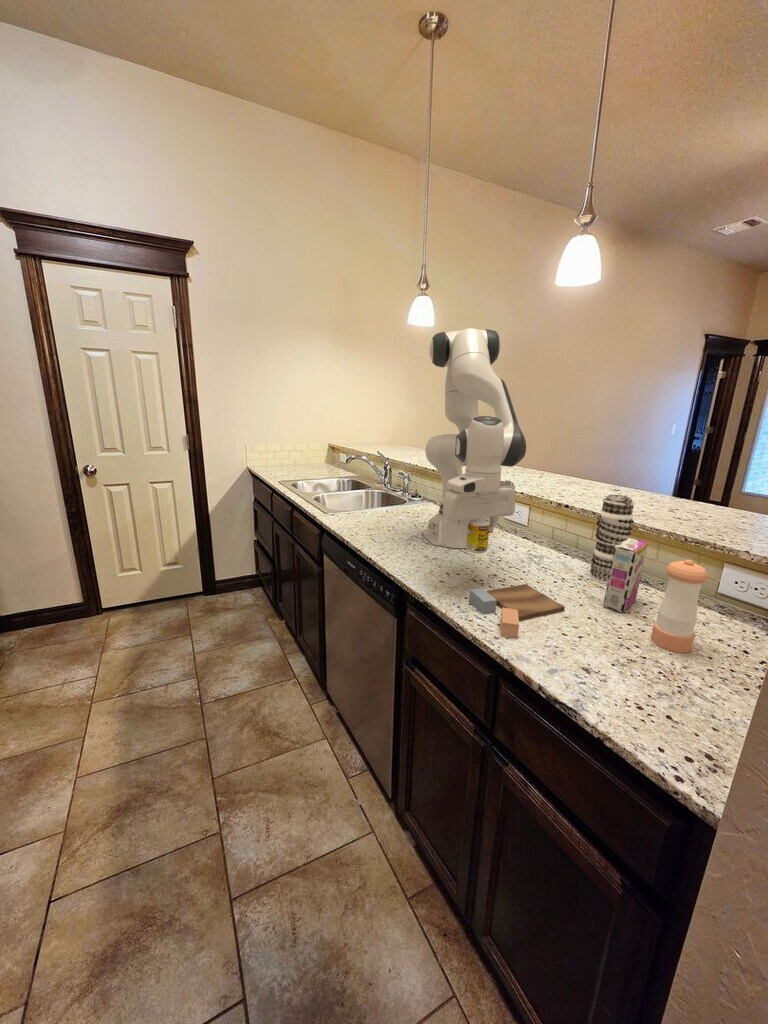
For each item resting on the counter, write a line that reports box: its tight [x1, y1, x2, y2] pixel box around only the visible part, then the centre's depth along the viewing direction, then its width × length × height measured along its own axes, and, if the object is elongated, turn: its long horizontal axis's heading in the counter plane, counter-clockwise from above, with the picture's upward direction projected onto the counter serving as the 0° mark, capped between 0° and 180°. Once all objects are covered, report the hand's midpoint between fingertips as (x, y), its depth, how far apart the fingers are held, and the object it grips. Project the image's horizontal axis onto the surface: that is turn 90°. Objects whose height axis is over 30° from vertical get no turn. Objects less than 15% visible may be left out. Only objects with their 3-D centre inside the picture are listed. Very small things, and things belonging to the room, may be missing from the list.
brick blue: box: [468, 587, 497, 615], centre depth 103 cm, size 7×4×4 cm, turn 16°
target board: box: [486, 583, 566, 622], centre depth 105 cm, size 14×14×1 cm
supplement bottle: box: [465, 515, 490, 554], centre depth 108 cm, size 6×6×10 cm
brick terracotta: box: [500, 608, 520, 639], centre depth 93 cm, size 7×4×4 cm, turn 165°
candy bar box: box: [602, 537, 649, 614], centre depth 104 cm, size 11×5×16 cm, turn 135°
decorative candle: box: [588, 494, 636, 585], centre depth 118 cm, size 9×9×25 cm
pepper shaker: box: [650, 559, 709, 654], centre depth 86 cm, size 7×7×19 cm
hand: (477, 534), depth 108 cm, fingers closed on supplement bottle, 5 cm apart
